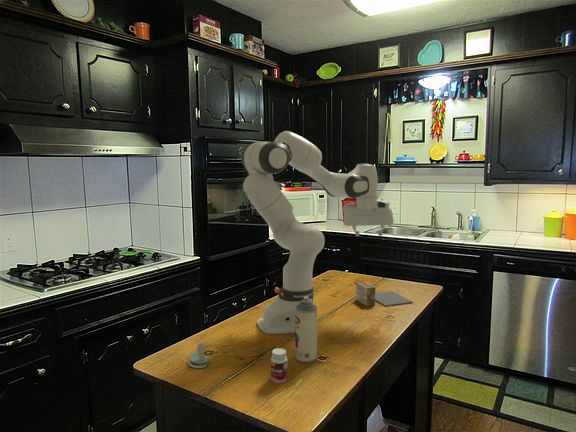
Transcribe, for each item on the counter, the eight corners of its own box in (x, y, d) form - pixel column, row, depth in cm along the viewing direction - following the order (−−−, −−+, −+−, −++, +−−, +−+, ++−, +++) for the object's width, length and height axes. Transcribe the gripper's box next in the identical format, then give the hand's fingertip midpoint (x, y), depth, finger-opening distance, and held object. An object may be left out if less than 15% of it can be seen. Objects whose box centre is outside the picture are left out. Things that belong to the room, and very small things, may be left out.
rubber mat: (385, 306, 177) (385, 305, 177) (366, 295, 192) (366, 294, 192) (412, 302, 182) (412, 301, 182) (391, 292, 197) (391, 291, 197)
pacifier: (202, 371, 123) (214, 362, 128) (201, 352, 122) (214, 343, 127) (183, 366, 126) (196, 357, 132) (182, 347, 125) (195, 339, 131)
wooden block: (366, 306, 178) (366, 288, 177) (355, 299, 187) (356, 282, 186) (374, 305, 180) (375, 287, 179) (364, 298, 188) (364, 281, 187)
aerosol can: (294, 353, 134) (294, 293, 131) (315, 353, 134) (316, 293, 132) (295, 363, 127) (295, 301, 125) (317, 363, 127) (318, 300, 125)
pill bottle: (267, 381, 117) (267, 353, 116) (275, 373, 121) (275, 346, 120) (283, 384, 115) (283, 356, 114) (290, 376, 119) (290, 349, 118)
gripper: (341, 204, 170) (342, 237, 173) (392, 203, 164) (393, 237, 166) (343, 202, 176) (345, 233, 179) (393, 200, 170) (394, 233, 172)
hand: (368, 235), depth 172 cm, fingers open, 8 cm apart
